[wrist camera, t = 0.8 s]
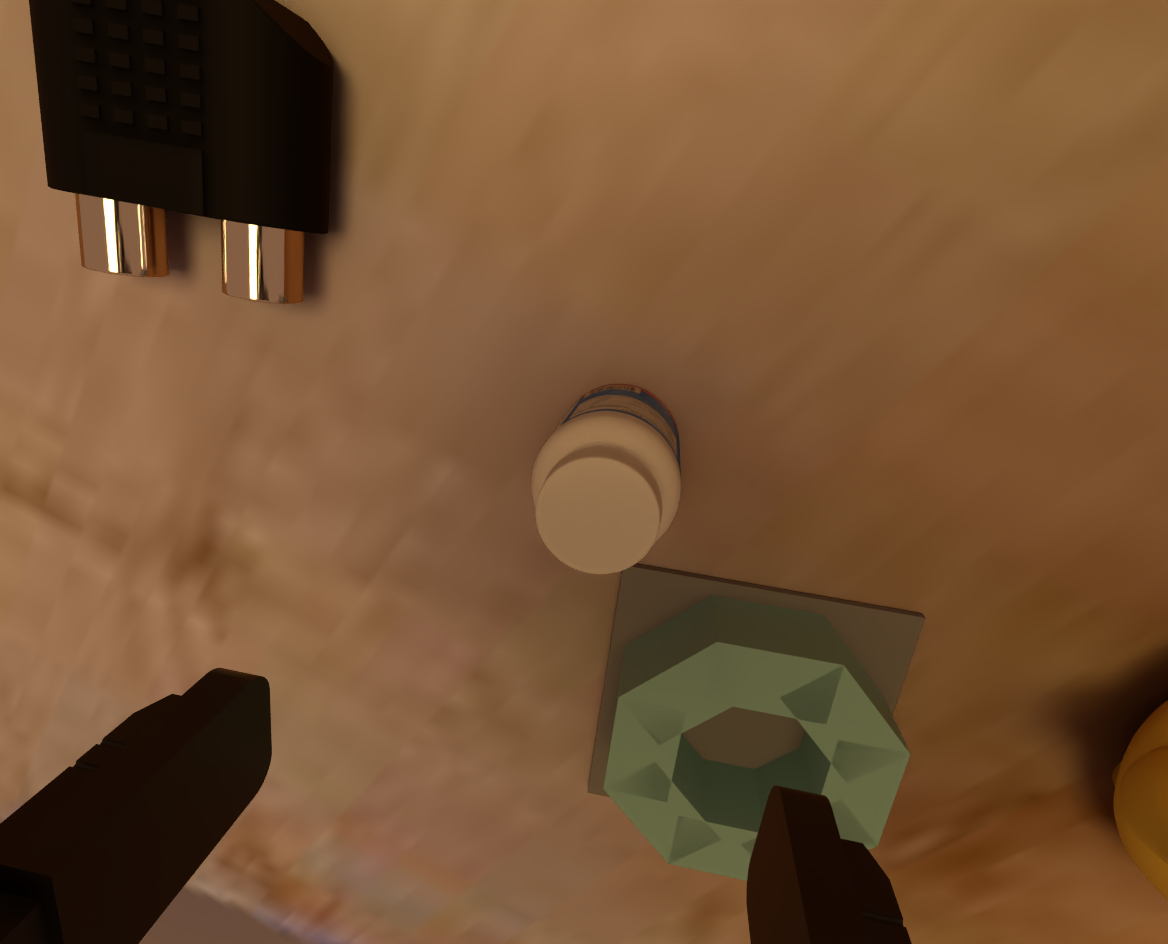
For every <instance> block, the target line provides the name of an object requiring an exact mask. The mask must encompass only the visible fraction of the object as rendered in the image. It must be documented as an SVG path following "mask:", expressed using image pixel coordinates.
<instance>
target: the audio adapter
mask: <svg viewBox="0 0 1168 944" xmlns="http://www.w3.org/2000/svg"><path fill="white" fill-rule="evenodd" d="M29 5H30V15H31V25H32V35H33V44H34V54H35V64H36V74H37V84H38V93H39V103H40V113H41V123H42V132H43V142H44V152H45V162H46V171H47V181H48V186H49V187H50V188H53V189H57V190H61V191H66V192H72V193H75V199H76V210H77V221H78V233H79V244H80V255H81V265H82V267H84V268H87V269H90V270H94V271H100V272H104V273H109V274H117V275H126V276H138V277H165V276H168V275H169V266H168V244H167V223H166V210H171V211H176V212H182V213H188V214H193V215H199V216H204V217H210V218H215V219H221V259H222V292H223V293H224V294H226V295H229V296H232V297H236V298H241V299H246V300H249V301H256V302H265V303H278V304H296V303H301V302H303V292H304V241H305V232H309V233H320V234H326V233H328V220H329V188H330V156H331V124H332V93H333V59H332V57H331V55H330V53H329V51H328V49H327V48H326V46H325V44H324V43H323V41H322V40H321V38H320V37H319V36H318V34H317V33H316V32H315V30H314V29H313V28H312V27H311V26H310V24H309V23H308V22H307V21H305V20H304V19H302V18H301V17H300V16H298V15H296V14H295V13H293V12H292V11H290V10H289V9H287V8H286V7H284V6H283V5H281V4H279V3H278V2H276V1H275V0H29Z"/></svg>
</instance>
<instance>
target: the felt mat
mask: <svg viewBox="0 0 1168 944" xmlns="http://www.w3.org/2000/svg"><path fill="white" fill-rule="evenodd" d="M712 595H714V596H720V597H726V598H731V599H737V600H742V601H748V602H754V603H759V604H765V605H771V606H776V607H782V608H788V609H793V610H799V611H805V612H810V613H816V614H822V615H824V616H825V618H826V619H827V620H828V622H829V623H830V625H831V626H832V627H833V629H834V630H835V631H836V633H837V634H838V635H839V637H840V638H841V639H842V641H843V642H844V643H845V645H846V646H847V647H848V649H849V650H850V651H851V653H852V654H853V655H854V657H855V658H856V660H857V661H858V662H859V664H860V665H861V666H862V668H863V669H864V670H865V672H866V673H867V674H868V676H869V677H870V678H871V680H872V681H873V682H874V684H875V685H876V686H877V688H878V689H879V691H880V692H881V693H882V694H883V696H884V699H885V701H886V703H887V705H888V707H889V709H890V711H891V714H892V715H893V712H894V709H895V706H896V703H897V700H898V697H899V694H900V691H901V688H902V685H903V682H904V679H905V676H906V673H907V670H908V667H909V664H910V662H911V659H912V656H913V653H914V650H915V647H916V644H917V641H918V638H919V635H920V632H921V629H922V626H923V623H924V620H925V617H924V615H923V614H922V613H917V612H911V611H905V610H899V609H894V608H888V607H882V606H876V605H871V604H865V603H859V602H853V601H848V600H842V599H836V598H830V597H825V596H819V595H813V594H808V593H802V592H796V591H790V590H785V589H779V588H773V587H767V586H762V585H756V584H750V583H744V582H739V581H733V580H727V579H721V578H716V577H710V576H704V575H699V574H693V573H687V572H681V571H676V570H670V569H664V568H658V567H653V566H647V565H641V564H634V565H633V566H631V567H629V568H627V569H625V570H622V576H621V583H620V589H619V595H618V602H617V608H616V614H615V621H614V627H613V633H612V640H611V646H610V652H609V659H608V665H607V672H606V678H605V684H604V691H603V697H602V703H601V710H600V716H599V722H598V729H597V735H596V741H595V748H594V754H593V760H592V767H591V773H590V779H589V786H588V793H593V794H598V795H603V796H607V797H610V796H609V795H608V794H607V792H606V791H605V790H604V789H603V785H604V779H605V772H606V765H607V758H608V751H609V744H610V738H611V731H612V726H613V720H614V714H615V708H616V702H617V696H618V690H619V684H620V678H621V672H622V666H623V660H624V654H625V647H626V646H627V645H629V644H631V643H632V642H634V641H636V640H637V639H639V638H641V637H642V636H644V635H646V634H648V633H649V632H651V631H653V630H654V629H656V628H658V627H659V626H661V625H663V624H665V623H666V622H668V621H670V620H671V619H673V618H675V617H676V616H678V615H680V614H682V613H683V612H685V611H687V610H688V609H690V608H692V607H693V606H695V605H697V604H699V603H700V602H702V601H704V600H705V599H707V598H709V597H710V596H712ZM804 733H805V729H804V728H803V727H802V725H801V724H800V723H799V721H798V720H797V719H795V718H790V717H785V716H779V715H774V714H769V713H764V712H759V711H753V710H748V709H743V708H738V707H731V708H729V709H727V710H725V711H724V712H722V713H720V714H718V715H716V716H714V717H712V718H710V719H708V720H706V721H704V722H702V723H701V724H699V725H697V726H695V727H693V728H691V729H689V730H687V731H685V732H683V733H682V734H683V736H684V737H685V738H686V739H687V740H688V742H689V743H690V744H691V745H692V746H693V748H694V749H695V750H696V751H697V753H698V754H699V755H700V756H701V757H702V759H706V760H711V761H716V762H721V763H726V764H731V765H736V766H741V767H746V768H751V769H756V768H758V767H761V766H763V765H765V764H767V763H769V762H771V761H773V760H775V759H777V758H779V757H781V756H783V755H785V754H788V753H790V752H792V751H794V750H796V749H798V748H800V747H801V743H802V740H803V736H804Z"/></svg>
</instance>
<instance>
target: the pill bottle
mask: <svg viewBox="0 0 1168 944" xmlns="http://www.w3.org/2000/svg"><path fill="white" fill-rule="evenodd" d="M531 491H532V498H533V502H534V506H535V509H536V514H535V515H536V524H537V527H538V531H539V534H540V536H541V538H542V540H543V542H544V544H545V545H546V547H547V548H548V549H549V550H550V552H551V553H552V554H553V555H554V556H555V557H556V558H558V559H559V560H560V561H561V562H563V563H564V564H566V565H568V566H569V567H571V568H574V569H576V570H579V571H582V572H586V573H591V574H610V573H615V572H620V571H622V570H625V569H627V568H629V567H631V566H633V565H634V564H636V563H637V562H639V561H640V560H641V559H642V558H643V557H644V556H645V555H646V554H647V553H648V552H649V550H650V549H651V547H652V546H653V544H654V543H655V542H656V541H657V540H658V539H659V538H660V537H662V535H663V534H664V533H665V532H666V531H667V529H668V528H669V526H670V525H671V523H672V521H673V519H674V517H675V515H676V513H677V509H678V506H679V502H680V495H681V470H680V449H679V435H678V431H677V427H676V424H675V422H674V419H673V417H672V415H671V414H670V412H669V411H668V409H667V408H666V406H665V405H664V404H663V403H662V402H661V401H660V400H659V399H658V398H656V397H655V396H654V395H652V394H651V393H649V392H648V391H646V390H643V389H641V388H638V387H635V386H631V385H623V384H615V385H607V386H603V387H600V388H597V389H595V390H592V391H590V392H589V393H587V394H585V395H584V396H582V397H581V398H580V399H579V400H578V401H577V402H576V403H575V404H574V405H573V406H572V407H571V409H570V410H569V411H568V413H567V414H566V415H565V417H564V418H563V420H562V421H561V422H560V424H559V425H558V427H557V428H556V429H555V431H554V432H553V433H552V435H551V436H550V437H549V439H548V440H547V441H546V443H545V444H544V445H543V447H542V449H541V450H540V452H539V454H538V456H537V459H536V461H535V464H534V467H533V472H532V479H531Z"/></svg>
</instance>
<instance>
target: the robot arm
mask: <svg viewBox="0 0 1168 944" xmlns="http://www.w3.org/2000/svg"><path fill="white" fill-rule="evenodd" d="M271 755H272V744H271V714H270V688H269V683H268V681H267V679H266V678H265V677H262V676H257V675H252V674H247V673H243V672H238V671H233V670H228V669H223V668H216V669H213V670H211V671H210V672H208V673H207V674H206V675H205V676H204V677H202V678H201V679H200V680H199V681H198V682H197V683H196V684H194V685H193V686H192V687H191V688H190V689H189V690H188V691H186V692H185V693H184V694H183V695H182V696H180V695H175V694H171V695H169V696H167V697H165V698H163V699H161V700H159V701H157V702H155V703H153V704H151V705H149V706H147V707H145V708H143V709H141V710H139V711H137V712H135V713H133V714H132V715H131V716H130V717H128V718H127V719H126V720H125V721H124V722H122V723H121V724H120V725H119V726H118V727H116V728H115V729H114V730H113V731H112V732H110V733H109V734H108V735H107V736H106V737H104V738H103V740H102V743H101V744H100V745H98V744H96V745H95V746H93V747H92V748H91V749H90V750H89V751H87V752H86V753H85V754H84V755H83V756H81V757H80V758H79V759H78V760H77V761H76V764H75V765H74V767H70V766H69V767H68V768H67V769H66V770H65V771H63V772H62V773H61V774H60V775H59V776H57V777H56V778H55V779H54V780H52V781H51V782H50V783H49V784H48V785H46V786H45V787H44V788H43V789H42V790H40V791H39V792H38V793H37V794H36V795H34V796H33V797H32V798H31V799H30V800H28V801H27V802H26V803H25V804H24V805H22V806H21V807H20V808H19V809H18V810H16V811H15V812H14V813H13V814H11V815H10V816H9V817H8V818H7V819H5V820H4V821H3V822H2V823H1V824H0V944H139V942H140V941H141V940H142V938H143V937H144V936H145V934H146V933H147V932H148V931H149V930H150V928H151V927H152V926H153V925H154V923H155V922H156V921H157V919H158V918H159V917H160V915H161V914H162V913H163V912H164V911H165V909H166V908H167V906H169V904H170V903H171V902H172V900H173V899H174V898H175V897H176V895H177V894H178V893H179V892H180V890H181V889H182V888H183V887H184V885H185V884H186V883H187V882H188V880H189V879H190V878H191V876H192V875H193V874H194V873H195V871H196V870H197V869H198V868H199V866H200V865H201V864H202V863H203V861H204V860H205V859H206V857H207V856H208V855H209V854H210V852H211V851H212V850H213V849H214V847H215V846H216V845H217V844H218V842H219V841H220V840H221V839H222V837H223V836H224V835H225V833H226V832H227V831H228V830H229V828H230V827H231V826H232V825H233V823H234V822H235V821H236V820H237V818H238V817H239V816H240V814H241V813H242V812H243V811H244V809H245V808H246V807H247V806H248V804H249V803H250V802H251V801H252V799H253V798H254V797H255V795H256V794H257V793H258V791H259V789H260V788H261V786H262V784H263V782H264V780H265V777H266V775H267V772H268V769H269V766H270V761H271ZM747 912H748V921H749V931H750V940H751V944H912V943H911V940H910V938H909V935H908V932H907V929H906V927H903V917H902V914H901V912H900V909H899V906H898V903H897V900H896V897H895V894H894V891H893V888H892V885H891V883H890V880H889V878H888V877H887V875H886V874H885V873H884V871H883V870H882V869H881V867H880V866H879V864H878V863H877V862H876V860H875V859H874V858H873V856H872V855H871V853H870V852H869V851H868V849H867V848H866V847H865V845H864V844H863V843H860V842H855V841H850V840H846V839H841V838H840V834H839V831H838V827H837V824H836V820H835V817H834V813H833V810H832V807H831V804H830V801H829V799H828V798H827V797H826V796H825V795H820V794H816V793H811V792H806V791H801V790H796V789H792V788H787V787H782V786H777V785H774V786H773V787H772V789H771V791H770V793H769V796H768V800H767V803H766V806H765V810H764V813H763V817H762V820H761V824H760V827H759V831H758V834H757V838H756V841H755V844H754V848H753V851H752V855H751V858H750V863H749V868H748V877H747Z"/></svg>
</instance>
